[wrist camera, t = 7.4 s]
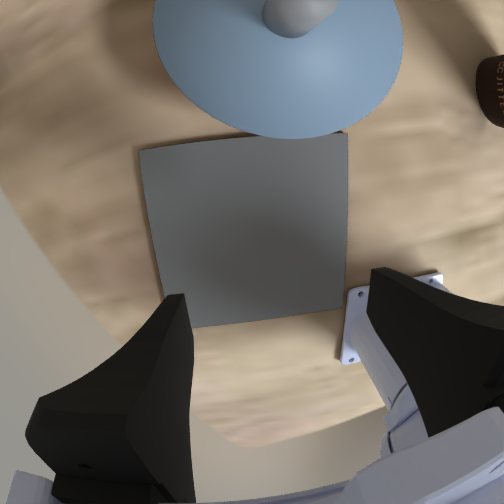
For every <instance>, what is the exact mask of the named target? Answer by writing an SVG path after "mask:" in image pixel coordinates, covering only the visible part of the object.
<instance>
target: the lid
mask: <svg viewBox="0 0 504 504" xmlns="http://www.w3.org/2000/svg"><path fill="white" fill-rule="evenodd" d="M153 33H154V40H155V44H156V48H157V51H158V55H159V57H160V59H161V61H162V63H163V66H164V68H165V70H166V71H167V73H168V74H169V76H170V77H171V79H172V80H173V82H174V83H175V84H176V86H177V87H178V88H179V89H180V90H181V91H182V93H183V94H184V95H185V96H186V97H187V98H188V99H190V100H191V101H192V102H193V103H194V104H195V105H196V106H197V107H199V108H200V109H202V110H203V111H204V112H206V113H207V114H209V115H210V116H212V117H213V118H215V119H217V120H219V121H221V122H223V123H225V124H227V125H229V126H232V127H234V128H237V129H239V130H242V131H245V132H249V133H252V134H256V135H260V136H265V137H272V138H279V139H303V138H314V137H318V136H323V135H327V134H331V133H334V132H337V131H339V130H342V129H345V128H347V127H349V126H351V125H353V124H355V123H356V122H358V121H360V120H361V119H362V118H364V117H365V116H367V115H368V114H369V113H370V112H372V111H373V110H374V109H375V108H376V107H377V106H378V105H379V104H380V103H381V101H382V100H383V99H384V98H385V96H386V95H387V94H388V92H389V90H390V89H391V87H392V85H393V84H394V82H395V79H396V77H397V74H398V71H399V68H400V64H401V60H402V52H403V33H402V26H401V21H400V17H399V14H398V11H397V8H396V5H395V3H394V1H393V0H156V1H155V5H154V10H153Z"/></svg>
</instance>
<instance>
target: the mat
mask: <svg viewBox="0 0 504 504" xmlns="http://www.w3.org/2000/svg"><path fill="white" fill-rule="evenodd" d="M138 153H139V161H140V168H141V175H142V182H143V188H144V195H145V201H146V207H147V212H148V218H149V224H150V229H151V234H152V240H153V245H154V250H155V255H156V260H157V264H158V269H159V274H160V278H161V283H162V287H163V291H164V296H165V298H166V296H167V295H170V294H180V293H184V295H185V300H186V305H187V310H188V314H189V319H190V324H191V328H197V327H207V326H216V325H225V324H234V323H242V322H250V321H258V320H266V319H273V318H280V317H287V316H294V315H300V314H307V313H313V312H319V311H326V310H332V309H337V308H342V301H343V290H344V277H345V261H346V243H347V218H348V133H331V134H327V135H323V136H318V137H314V138H303V139H279V138H272V137H265V136H251V137H238V138H227V139H217V140H208V141H199V142H191V143H183V144H176V145H169V146H162V147H156V148H150V149H143V150H139V151H138Z"/></svg>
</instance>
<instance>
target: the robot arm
mask: <svg viewBox="0 0 504 504" xmlns="http://www.w3.org/2000/svg"><path fill="white" fill-rule="evenodd" d="M429 280H430V281H429ZM442 281H443V275H442V274H441V273H433V274H428V275H423V276H418V277H410V276H407V275H405V274H403V273H400V272H398V271H395V270H392V269H389V268H386V267H382V268H376V269H371V278H370V285H368V286H362V287H356V288H352V289H351V290H349V292H348V296H347V306H346V316H345V325H344V334H343V342H342V349H341V357H340V362H341V364H343V365H347V364H351V363H356V362H360V361H361V362H362V363H363V365H364V367H365V369H366V370H367V372H368V374H369V376H370V378H371V379H372V381H373V383H374V385H375V387H376V388H377V390H378V392H379V394H380V396H381V398H382V399H383V401H384V403H385V405H386V407H387V409H388V410H389V413H388V414H387V415H386V416H385V417H384V418H383V420H384V422H385V423H386V425H387V427H388V429H389V430H388V431H387V432H385V433H384V434H383V436H382V438H381V450H380V453H381V458H380V459H378V460H376V461H375V462H373V463H371V464H370V465H368V466H367V467H365V468H364V469H362V470H360V471H359V472H357V473H356V474H355V475H354V477H353V478H352V479H350V480H347V481H343V482H339V483H336V484H332V485H328V486H324V487H319V488H315V489H310V490H306V491H301V492H296V493H290V494H285V495H279V496H273V497H265V498H258V499H250V500H240V501H229V502H214V503H196V497H195V490H194V481H193V472H192V460H191V446H190V428H189V427H190V426H189V409H190V397H191V387H192V377H193V366H194V337H193V333H192V328H191V324H190V319H189V314H188V310H187V305H186V300H185V295H184V293H180V294H170V295H167V296H166V298H165V299H164V300H163V301H162V303H161V304H160V305H159V306H158V308H157V309H156V310H155V312H154V313H153V314H152V315H151V317H150V318H149V319H148V320H147V321H146V323H145V324H144V325H143V326H142V327H141V328H140V329H139V330H138V331H137V333H136V334H135V335H134V336H133V337H132V338H131V339H130V340H129V341H128V342H127V343H126V344H125V345H124V346H123V347H122V348H121V349H119V350H118V351H117V352H116V353H115V354H114V355H112V356H111V357H110V358H109V359H107V360H106V361H105V362H103V363H102V364H100V365H99V366H98V367H97V368H95V369H94V370H92V371H91V372H89V373H88V374H86V375H84V376H83V377H81V378H79V379H78V380H76V381H74V382H72V383H70V384H68V385H67V386H65V387H63V388H60V389H58V390H56V391H54V392H52V393H49V394H47V395H45V396H42V397H40V398H39V399H38V401H37V404H36V406H35V409H34V411H33V413H32V416H31V418H30V420H29V423H28V426H27V428H26V432H25V437H26V439H27V441H28V444H29V445H30V447H31V448H32V449H33V450H34V452H35V453H36V454H37V455H38V456H39V457H40V458H41V459H42V460H43V461H44V462H45V463H46V464H47V465H48V466H49V467H50V468H51V469H52V470H53V471H54V472H55V473H56V475H55V479H54V482H53V481H51V480H49V479H47V478H44V477H42V476H38V475H34V474H30V473H26V472H23V471H19V470H17V471H16V472H15V475H14V478H13V481H12V484H11V487H10V491H9V494H8V498H7V502H6V504H504V306H499V305H493V304H488V303H483V302H478V301H474V300H470V299H467V298H464V297H460V296H457V295H454V294H452V293H451V292H450V291H449V290H448V289H447V288H445V287H444V286H443V285H442ZM359 292H362V293H361V294H360V295H358V294H359Z"/></svg>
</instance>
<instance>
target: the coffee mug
mask: <svg viewBox="0 0 504 504" xmlns="http://www.w3.org/2000/svg"><path fill="white" fill-rule="evenodd" d="M476 91H477V96H478V100H479V103H480V106H481V108H482V110H483V112H484V114H485V116H486V117H487V118H488V119H489V121H491V122H492V123H493V124H495V125H497V126H499V127H502V128H504V55H500V56H495V57H491V58H487V59H484V60H483V61H482V62H481V63H480V65H479V67H478V69H477V73H476Z"/></svg>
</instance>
